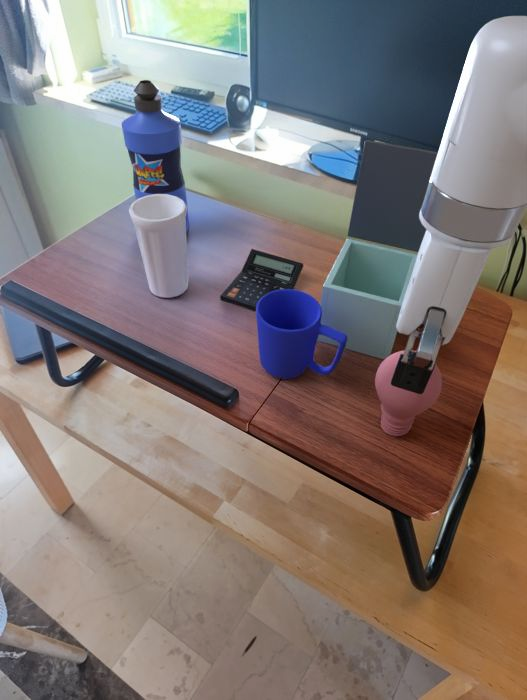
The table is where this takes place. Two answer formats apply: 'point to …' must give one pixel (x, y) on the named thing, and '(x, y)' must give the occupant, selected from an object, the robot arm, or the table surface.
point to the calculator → (261, 279)
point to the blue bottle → (154, 146)
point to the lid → (391, 195)
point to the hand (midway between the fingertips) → (414, 355)
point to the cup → (162, 242)
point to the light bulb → (402, 397)
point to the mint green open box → (366, 296)
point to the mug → (292, 333)
